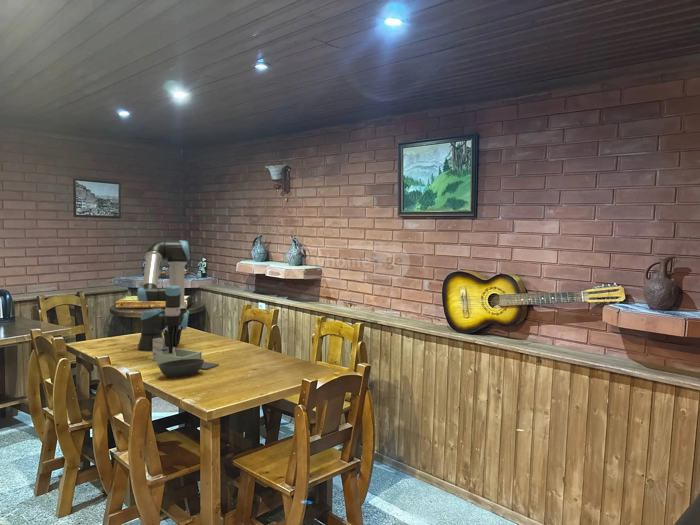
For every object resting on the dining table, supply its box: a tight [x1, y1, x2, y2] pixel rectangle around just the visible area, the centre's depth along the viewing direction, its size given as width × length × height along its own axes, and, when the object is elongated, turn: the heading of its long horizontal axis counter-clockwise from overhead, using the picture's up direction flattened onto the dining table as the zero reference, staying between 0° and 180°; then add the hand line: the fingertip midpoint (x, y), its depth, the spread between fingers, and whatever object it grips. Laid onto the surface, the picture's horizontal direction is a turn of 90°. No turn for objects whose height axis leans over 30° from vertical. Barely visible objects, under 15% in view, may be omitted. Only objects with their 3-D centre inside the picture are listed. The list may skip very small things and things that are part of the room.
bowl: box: [157, 358, 205, 379], centre depth 243 cm, size 12×22×6 cm, turn 128°
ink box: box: [152, 337, 169, 362], centre depth 269 cm, size 8×5×12 cm, turn 59°
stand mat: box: [200, 361, 220, 371], centre depth 259 cm, size 10×10×1 cm
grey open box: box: [156, 347, 203, 366], centre depth 262 cm, size 17×14×6 cm
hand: (172, 359), depth 264 cm, fingers closed
